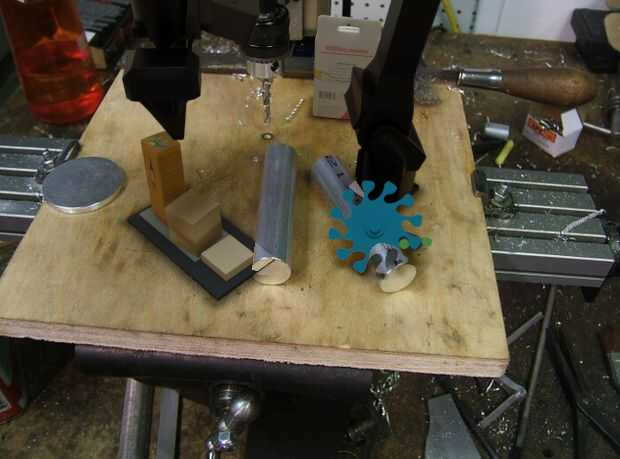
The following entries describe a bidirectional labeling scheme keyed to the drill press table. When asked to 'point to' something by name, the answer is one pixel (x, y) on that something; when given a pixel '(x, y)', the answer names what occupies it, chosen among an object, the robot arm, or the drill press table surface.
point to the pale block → (194, 222)
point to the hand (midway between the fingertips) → (181, 113)
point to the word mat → (204, 254)
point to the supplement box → (163, 171)
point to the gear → (376, 224)
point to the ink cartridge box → (340, 60)
